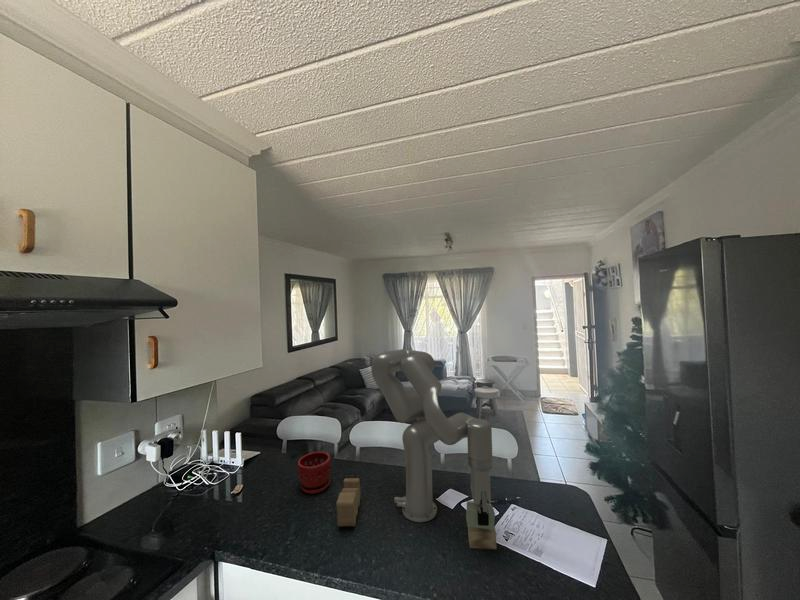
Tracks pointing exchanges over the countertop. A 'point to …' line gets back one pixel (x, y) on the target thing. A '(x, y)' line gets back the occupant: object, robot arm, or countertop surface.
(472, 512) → the sage brick
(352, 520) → the toy train
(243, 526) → the countertop surface
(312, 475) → the plant pot
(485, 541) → the beech brick
